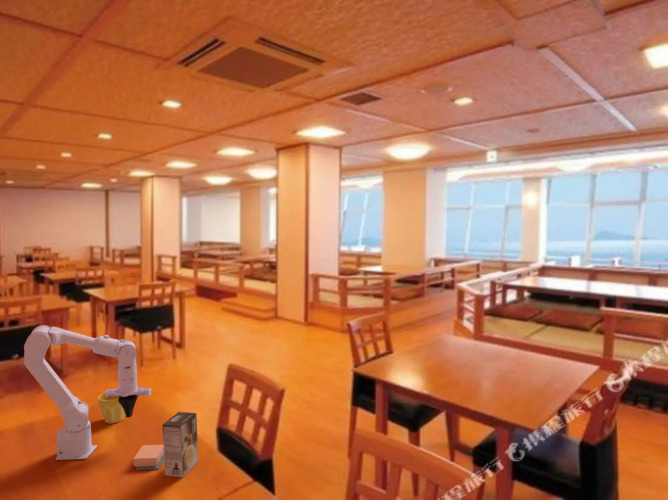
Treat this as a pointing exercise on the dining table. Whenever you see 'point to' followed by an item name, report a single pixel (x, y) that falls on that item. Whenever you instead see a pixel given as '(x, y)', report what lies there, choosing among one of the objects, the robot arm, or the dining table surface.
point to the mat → (151, 466)
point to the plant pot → (111, 408)
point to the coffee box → (180, 444)
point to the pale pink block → (148, 455)
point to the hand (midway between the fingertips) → (129, 416)
